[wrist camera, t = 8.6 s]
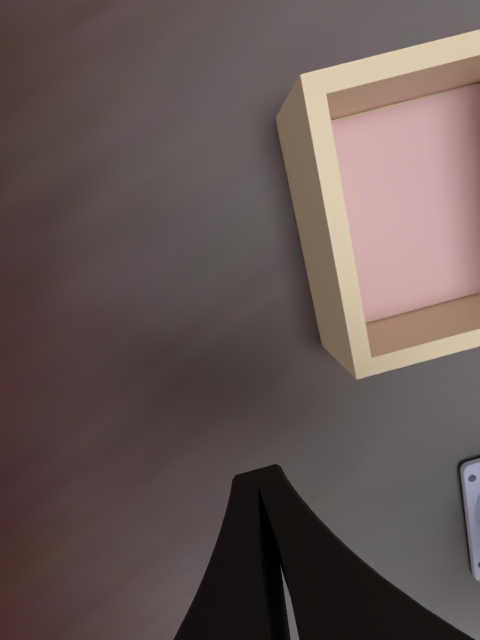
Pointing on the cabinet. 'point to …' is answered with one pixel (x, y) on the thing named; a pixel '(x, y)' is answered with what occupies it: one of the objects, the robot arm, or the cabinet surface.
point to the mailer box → (390, 201)
